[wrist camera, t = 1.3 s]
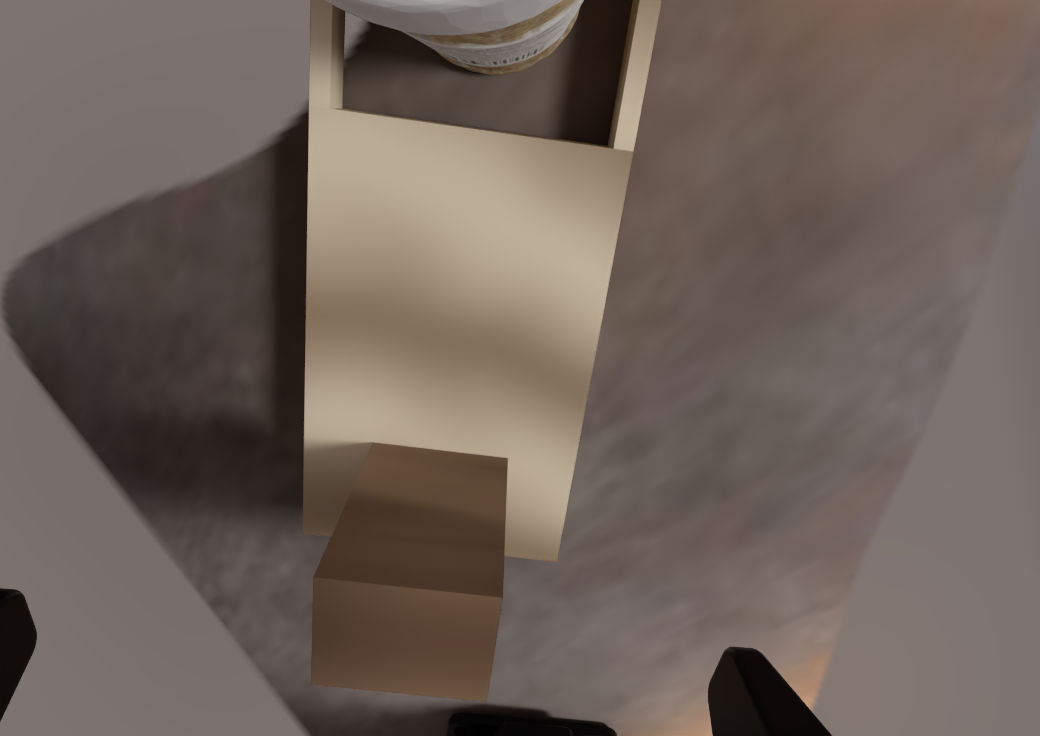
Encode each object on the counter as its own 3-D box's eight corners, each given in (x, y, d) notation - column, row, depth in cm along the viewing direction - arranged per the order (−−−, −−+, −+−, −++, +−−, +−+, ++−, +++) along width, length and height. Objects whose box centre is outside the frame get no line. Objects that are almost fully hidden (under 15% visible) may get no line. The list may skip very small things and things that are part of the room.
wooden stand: (554, 538, 22) (569, 726, 16) (313, 511, 22) (221, 691, 15) (700, -258, 15) (853, -565, 8) (332, -321, 14) (162, -701, 7)
